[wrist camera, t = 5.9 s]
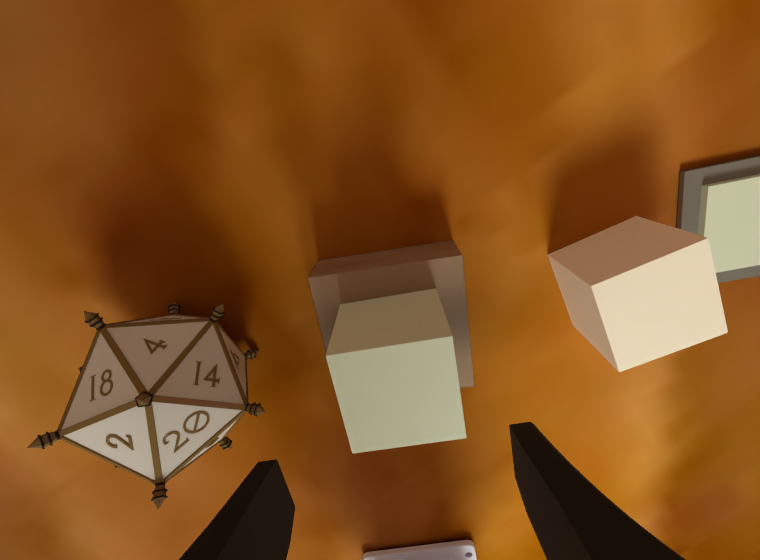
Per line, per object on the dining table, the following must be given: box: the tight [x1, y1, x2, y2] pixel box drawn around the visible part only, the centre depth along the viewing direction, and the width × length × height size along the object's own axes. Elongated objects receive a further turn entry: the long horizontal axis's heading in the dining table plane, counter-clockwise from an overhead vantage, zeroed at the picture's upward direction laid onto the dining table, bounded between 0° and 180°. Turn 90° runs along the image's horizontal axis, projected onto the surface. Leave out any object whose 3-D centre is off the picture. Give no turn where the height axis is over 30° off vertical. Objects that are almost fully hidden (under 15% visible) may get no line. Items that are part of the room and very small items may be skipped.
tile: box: [677, 155, 760, 283], centre depth 18 cm, size 6×6×1 cm
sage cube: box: [326, 288, 467, 454], centre depth 16 cm, size 4×4×4 cm
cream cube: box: [548, 216, 728, 372], centre depth 18 cm, size 4×4×4 cm
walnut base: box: [308, 240, 474, 388], centre depth 19 cm, size 7×7×3 cm
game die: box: [27, 302, 266, 509], centre depth 18 cm, size 9×8×10 cm
